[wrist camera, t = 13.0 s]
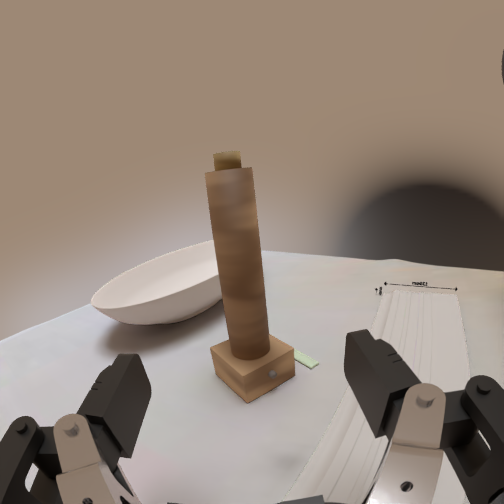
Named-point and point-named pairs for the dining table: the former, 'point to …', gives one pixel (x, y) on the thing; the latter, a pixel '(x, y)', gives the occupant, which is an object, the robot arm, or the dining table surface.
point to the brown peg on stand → (242, 285)
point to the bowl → (163, 288)
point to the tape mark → (305, 359)
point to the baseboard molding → (352, 418)
